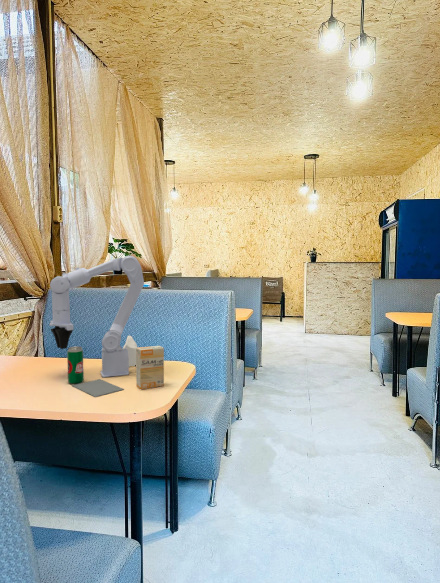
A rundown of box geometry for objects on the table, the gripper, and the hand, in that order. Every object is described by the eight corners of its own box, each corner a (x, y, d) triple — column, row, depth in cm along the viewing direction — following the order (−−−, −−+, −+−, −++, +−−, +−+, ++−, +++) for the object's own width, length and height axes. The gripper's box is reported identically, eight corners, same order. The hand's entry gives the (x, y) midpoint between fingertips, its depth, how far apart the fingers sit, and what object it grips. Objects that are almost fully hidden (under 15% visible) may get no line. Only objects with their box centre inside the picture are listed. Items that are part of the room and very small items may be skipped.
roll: (132, 337, 154) (119, 336, 156) (132, 367, 155) (120, 366, 157) (139, 334, 160) (127, 333, 162) (140, 364, 161) (128, 362, 162)
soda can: (78, 385, 133) (77, 349, 132) (65, 384, 134) (63, 349, 133) (86, 380, 138) (85, 346, 137) (73, 379, 139) (72, 345, 138)
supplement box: (140, 390, 127) (139, 350, 127) (136, 386, 132) (135, 347, 131) (164, 386, 131) (164, 347, 130) (159, 382, 136) (159, 344, 135)
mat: (72, 386, 132) (72, 385, 132) (99, 379, 139) (99, 379, 139) (95, 397, 121) (95, 396, 121) (123, 389, 128) (123, 388, 128)
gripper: (41, 309, 144) (42, 346, 145) (58, 313, 133) (59, 352, 134) (60, 307, 149) (61, 343, 150) (78, 311, 138) (79, 349, 139)
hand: (62, 348), depth 142 cm, fingers closed
